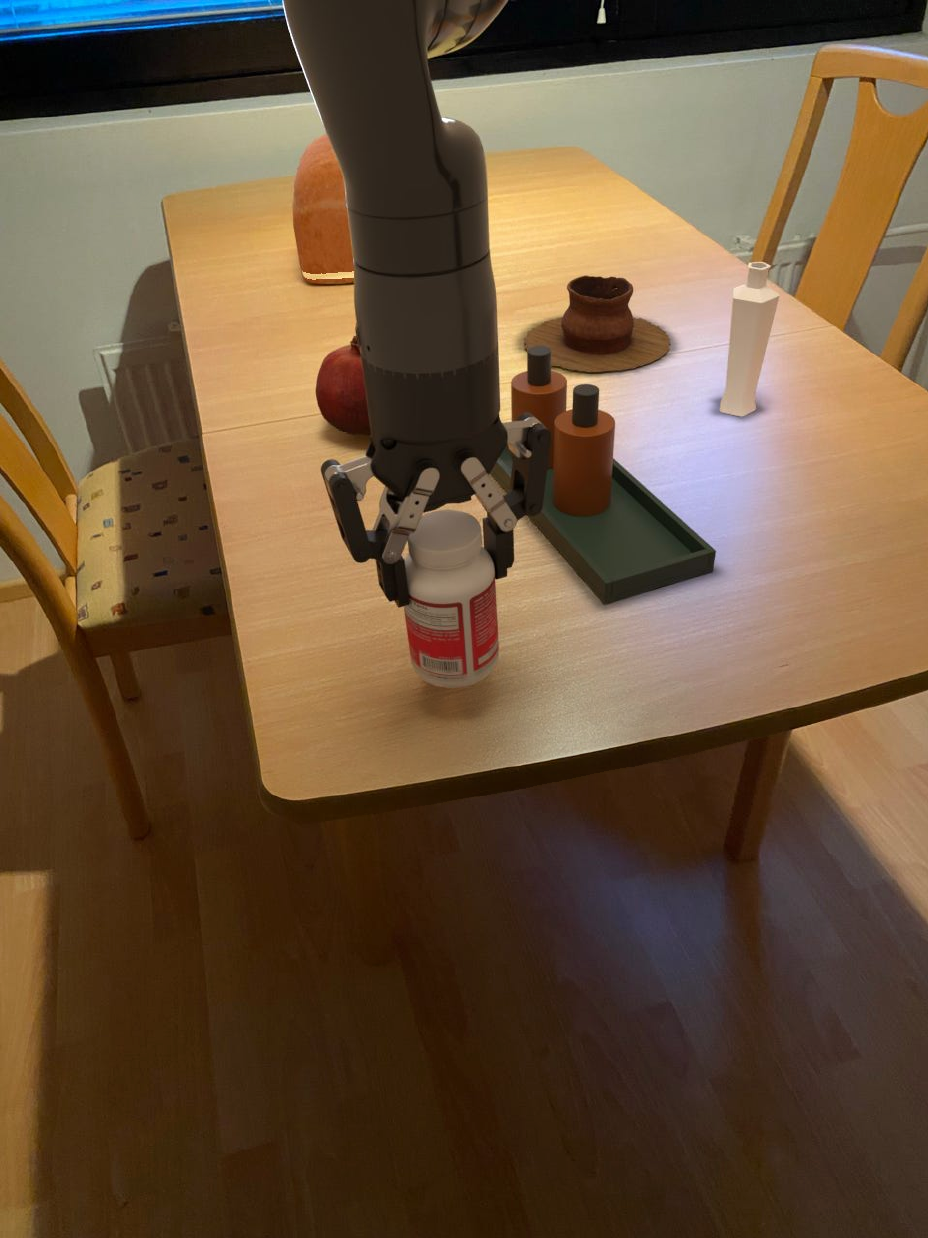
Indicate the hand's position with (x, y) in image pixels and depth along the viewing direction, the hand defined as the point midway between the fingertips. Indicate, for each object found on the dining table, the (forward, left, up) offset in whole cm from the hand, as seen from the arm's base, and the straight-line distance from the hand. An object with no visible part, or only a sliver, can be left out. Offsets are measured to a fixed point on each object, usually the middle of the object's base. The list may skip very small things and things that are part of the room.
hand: (448, 584), depth 61 cm
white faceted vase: (-44, -28, -10) cm, 53 cm away
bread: (-21, -97, -10) cm, 100 cm away
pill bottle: (0, 0, -7) cm, 7 cm away
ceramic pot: (-39, -50, -10) cm, 64 cm away
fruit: (-7, -41, -10) cm, 43 cm away
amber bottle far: (-20, -27, -9) cm, 35 cm away
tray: (-20, -18, -10) cm, 29 cm away
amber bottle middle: (-20, -18, -9) cm, 28 cm away
